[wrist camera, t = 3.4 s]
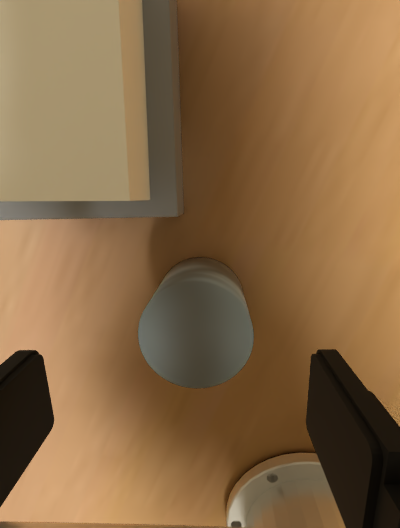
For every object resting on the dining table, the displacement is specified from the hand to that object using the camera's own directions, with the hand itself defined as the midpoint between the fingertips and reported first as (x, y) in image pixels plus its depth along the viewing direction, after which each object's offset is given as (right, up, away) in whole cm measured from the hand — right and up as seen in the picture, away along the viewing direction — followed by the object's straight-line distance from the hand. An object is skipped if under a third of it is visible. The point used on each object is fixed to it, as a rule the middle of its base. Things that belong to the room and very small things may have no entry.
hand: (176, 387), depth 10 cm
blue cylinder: (+1, +2, +11) cm, 11 cm away
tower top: (-7, +13, +5) cm, 15 cm away
